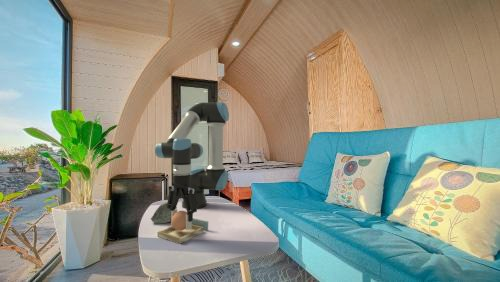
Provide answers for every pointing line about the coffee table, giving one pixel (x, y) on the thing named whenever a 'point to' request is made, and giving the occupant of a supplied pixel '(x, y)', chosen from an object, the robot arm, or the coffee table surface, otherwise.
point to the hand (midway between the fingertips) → (181, 226)
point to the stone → (162, 214)
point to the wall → (200, 223)
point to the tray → (180, 233)
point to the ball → (179, 220)
